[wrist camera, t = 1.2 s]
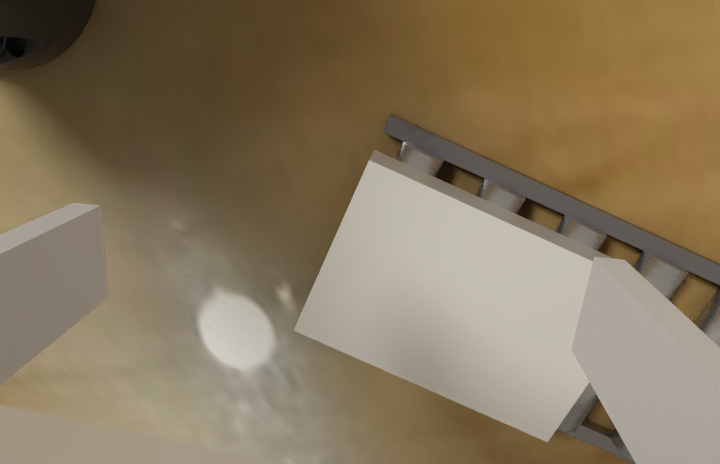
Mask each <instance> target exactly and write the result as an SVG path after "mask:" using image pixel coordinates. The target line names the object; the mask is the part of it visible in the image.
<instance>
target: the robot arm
mask: <svg viewBox="0 0 720 464" xmlns="http://www.w3.org/2000/svg"><path fill="white" fill-rule="evenodd" d="M94 2H95V0H0V69H21V68H29V67H33V66H37V65H40V64H43V63H46V62H48V61H50V60H52V59H53V58H55V57H57V56H58V55H60V54H61V53H62V52H64V51H65V50H66V49H67V48H68V47H69V46H70V45H71V44H72V43H73V42H74V41H75V40H76V38H77V37H78V36H79V35H80V33H81V32H82V30H83V28H84V27H85V25H86V23H87V21H88V19H89V16H90V14H91V11H92V8H93V5H94ZM108 297H109V296H108V285H107V274H106V262H105V251H104V240H103V229H102V218H101V206H100V205H90V204H80V203H71V204H69V205H67V206H65V207H62V208H60V209H58V210H55V211H53V212H51V213H49V214H46V215H44V216H42V217H39V218H37V219H35V220H32V221H30V222H28V223H26V224H23V225H21V226H19V227H16V228H14V229H12V230H9V231H7V232H5V233H3V234H0V384H2V383H3V382H4V381H5V380H7V379H8V378H9V377H10V376H12V375H13V374H14V373H15V372H17V371H18V370H19V369H20V368H22V367H23V366H24V365H25V364H26V363H28V362H29V361H30V360H31V359H33V358H34V357H35V356H36V355H38V354H39V353H40V352H41V351H43V350H44V349H45V348H46V347H48V346H49V345H50V344H51V343H53V342H54V341H55V340H56V339H58V338H59V337H60V336H61V335H62V334H64V333H65V332H66V331H67V330H69V329H70V328H71V327H72V326H74V325H75V324H76V323H77V322H79V321H80V320H81V319H82V318H84V317H85V316H86V315H87V314H89V313H90V312H91V311H92V310H94V309H95V308H96V307H97V306H98V305H100V304H101V303H102V302H103V301H105V300H106V299H107V298H108ZM571 350H572V352H573V354H574V355H575V357H576V359H577V361H578V362H579V364H580V366H581V368H582V369H583V371H584V373H585V375H586V377H587V378H588V380H589V382H590V384H591V385H592V387H593V389H594V391H595V392H596V394H597V396H598V398H599V399H600V401H601V403H602V405H603V407H604V408H605V410H606V412H607V414H608V415H609V417H610V419H611V421H612V422H613V424H614V426H615V428H616V429H617V431H618V433H619V435H620V437H621V438H622V440H623V442H624V444H625V445H626V447H627V449H628V451H629V452H630V454H631V456H632V458H633V459H634V461H635V463H636V464H720V347H719V346H718V345H717V344H715V343H714V342H713V341H712V340H711V339H710V338H709V337H708V336H707V335H706V334H705V333H704V332H702V331H701V330H700V329H699V328H698V327H697V326H696V325H695V324H694V323H693V322H692V321H691V320H689V319H688V318H687V317H686V316H685V315H684V314H683V313H682V312H681V311H680V310H679V309H678V308H676V307H675V306H674V305H673V304H672V303H671V302H670V301H669V300H668V299H667V298H666V297H665V296H663V295H662V294H661V293H660V292H659V291H658V290H657V289H656V288H655V287H654V286H653V285H652V284H650V283H649V282H648V281H647V280H646V279H645V278H644V277H643V276H642V275H641V274H640V273H639V272H637V271H636V270H635V269H634V268H633V267H632V266H631V265H630V264H629V263H628V262H627V261H626V260H622V259H612V258H602V257H594V260H593V264H592V268H591V272H590V276H589V280H588V284H587V288H586V292H585V296H584V300H583V305H582V309H581V313H580V317H579V321H578V325H577V329H576V333H575V337H574V341H573V345H572V349H571Z"/></svg>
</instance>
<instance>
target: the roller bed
mask: <svg viewBox="0 0 720 464" xmlns="http://www.w3.org/2000/svg"><path fill="white" fill-rule="evenodd" d="M383 132H384V133H386V134H388V135H391V136H393V137H395V138H397V139H399V140H401V141H403V143H402V145H401V147H400V149H399V152H398V154H397V156H396V158H395V159H396V160H398V161H400V162H403V163H405V164H407V165H409V166H411V167H414V168H416V169H418V170H420V171H422V172H425V173H427V174H429V175H431V176H433V177H436V176H437V174H438V172H439V170H440V168H441V166H442V164H443V162H444V160H445V161H448V162H450V163H452V164H454V165H456V166H459V167H461V168H463V169H465V170H467V171H470V172H472V173H474V174H476V175H478V176H481V177H483V178H485V179H484V181H483V183H482V184H481V186H480V188H479V190H478V192H477V194H476V196H477V197H480V198H482V199H484V200H486V201H488V202H491V203H493V204H495V205H497V206H499V207H502V208H504V209H506V210H508V211H510V212H513V213H515V214H518V212H519V210H520V208H521V206H522V205H523V203H524V201H525V199H526V198H525V197H527V198H529V199H531V200H533V201H535V202H538V203H540V204H542V205H544V206H546V207H549V208H551V209H553V210H555V211H557V212H560V213H562V214H564V217H563V219H562V220H561V222H560V224H559V225H558V227H557V229H556V230H555V232H557V233H559V234H561V235H563V236H566V237H568V238H570V239H572V240H574V241H577V242H579V243H581V244H583V245H585V246H588V247H590V248H592V249H594V250H596V251H598V250H599V249H600V247H601V246H602V244H603V242H604V241H605V239H606V238H607V235H606V234H608V235H610V236H612V237H615V238H617V239H619V240H621V241H623V242H625V243H628V244H630V245H632V246H634V247H636V248H639V249H641V250H643V252H642V254H641V255H640V257H639V258H638V260H637V261H636V263H635V264H634V266H633V268H634V269H635V270H636V271H637V272H639V273H640V274H641V275H642V276H643V277H644V278H645V279H646V280H647V281H648V282H649V283H650V284H652V285H653V286H654V287H655V288H656V289H657V290H658V291H659V292H660V293H661V294H662V295H663V296H665V297H666V298H667V299H668V300H670V299H671V298H672V296H673V295H674V293H675V292H676V291H677V289H678V288H679V286H680V285H681V284H682V282H683V281H684V279H685V278H686V277H687V275H688V274H689V273H688V272H687V271H689V272H691V273H694V274H696V275H698V276H700V277H702V278H705V279H707V280H709V281H711V282H713V283H716V284H718V285H720V264H719V263H717V262H714V261H712V260H710V259H708V258H706V257H704V256H701V255H699V254H697V253H695V252H693V251H690V250H688V249H686V248H684V247H682V246H679V245H677V244H675V243H673V242H671V241H669V240H666V239H664V238H662V237H660V236H658V235H655V234H653V233H651V232H649V231H647V230H644V229H642V228H640V227H638V226H636V225H633V224H631V223H629V222H627V221H625V220H623V219H620V218H618V217H616V216H614V215H612V214H609V213H607V212H605V211H603V210H601V209H598V208H596V207H594V206H592V205H590V204H588V203H585V202H583V201H581V200H579V199H577V198H574V197H572V196H570V195H568V194H566V193H563V192H561V191H559V190H557V189H555V188H552V187H550V186H548V185H546V184H544V183H542V182H539V181H537V180H535V179H533V178H531V177H528V176H526V175H524V174H522V173H520V172H517V171H515V170H513V169H511V168H509V167H507V166H504V165H502V164H500V163H498V162H496V161H493V160H491V159H489V158H487V157H485V156H482V155H480V154H478V153H476V152H474V151H471V150H469V149H467V148H465V147H463V146H461V145H458V144H456V143H454V142H452V141H450V140H447V139H445V138H443V137H441V136H439V135H436V134H434V133H432V132H430V131H428V130H426V129H423V128H421V127H419V126H417V125H415V124H412V123H410V122H408V121H406V120H404V119H401V118H399V117H397V116H395V115H393V114H390V117H389V119H388V121H387V123H386V126H385V128H384V130H383ZM605 233H606V234H605ZM684 269H685V270H684ZM686 270H687V271H686ZM694 324H695V325H696V326H697V327H698V328H699V329H700V330H701V331H702V332H704V333H705V334H706V335H707V336H708V337H709V338H710V339H711V340H712V341H713V342H714V343H715V344H717V345H718V346H719V347H720V288H719V289H718V291H717V292H716V293H715V295H714V296H713V297H712V299H711V300H710V301H709V303H708V304H707V306H706V307H705V308H704V310H703V311H702V312H701V314H700V315H699V316H698V318H697V319H696V320H695V322H694ZM598 400H599V398H598V396H597V394H596V392H595V391H594V389H593V387H592V385H591V384H590V382H589V384H588V385H587V386H586V388H585V389H584V391H583V392H582V394H581V395H580V397H579V398H578V399H577V401H576V402H575V404H574V405H573V407H572V408H571V409H570V411H569V412H568V414H567V415H566V417H565V418H564V419H563V421H562V422H561V424H560V425H559V427H558V428H557V430H559V431H561V432H563V433H566V434H568V435H570V436H573V437H575V438H577V439H579V440H582V441H584V442H586V443H588V444H591V445H593V446H595V447H597V448H600V449H602V450H604V451H607V452H609V453H611V454H613V455H616V456H618V457H620V458H622V459H625V460H627V461H629V462H632V463H634V464H636V463H635V461H634V459H633V458H632V456H631V454H630V452H629V451H628V449H627V447H626V445H625V444H624V442H623V440H622V438H621V437H620V435H619V433H618V431H617V429H616V428H615V429H614V430H613V431H611V430H609V429H607V428H604V427H602V426H600V425H598V424H595V423H593V422H591V421H589V420H586V419H585V418H586V417H587V415H588V414H589V412H590V411H591V410H592V408H593V407H594V405H595V404H596V403H597V401H598Z"/></svg>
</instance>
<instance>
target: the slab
mask: <svg viewBox="0 0 720 464" xmlns="http://www.w3.org/2000/svg"><path fill="white" fill-rule="evenodd" d="M594 257H602V258H612V257H610V256H607V255H605V254H603V253H601V252H599V251H596V250H594V249H592V248H590V247H588V246H585V245H583V244H581V243H579V242H577V241H574V240H572V239H570V238H568V237H566V236H563V235H561V234H559V233H557V232H555V231H552V230H550V229H548V228H546V227H544V226H541V225H539V224H537V223H535V222H533V221H530V220H528V219H526V218H524V217H522V216H519V215H517V214H515V213H513V212H510V211H508V210H506V209H504V208H502V207H499V206H497V205H495V204H493V203H491V202H488V201H486V200H484V199H482V198H480V197H477V196H475V195H473V194H471V193H469V192H466V191H464V190H462V189H460V188H458V187H455V186H453V185H451V184H449V183H447V182H444V181H442V180H440V179H438V178H436V177H433V176H431V175H429V174H427V173H425V172H422V171H420V170H418V169H416V168H414V167H411V166H409V165H407V164H405V163H403V162H400V161H398V160H396V159H394V158H392V157H389V156H387V155H385V154H383V153H381V152H378V151H376V150H374V152H373V153H372V155H371V157H370V159H369V161H368V164H367V166H366V168H365V170H364V173H363V175H362V177H361V179H360V182H359V184H358V186H357V188H356V191H355V193H354V195H353V197H352V200H351V202H350V204H349V206H348V209H347V211H346V213H345V215H344V218H343V220H342V222H341V224H340V227H339V229H338V231H337V233H336V236H335V238H334V240H333V242H332V245H331V247H330V249H329V251H328V254H327V256H326V258H325V260H324V263H323V265H322V267H321V269H320V272H319V274H318V276H317V278H316V281H315V283H314V285H313V287H312V290H311V292H310V294H309V296H308V299H307V301H306V303H305V305H304V308H303V310H302V312H301V314H300V317H299V319H298V321H297V324H296V326H295V328H294V330H293V331H296V332H298V333H300V334H302V335H305V336H307V337H309V338H311V339H314V340H316V341H318V342H321V343H323V344H325V345H327V346H330V347H332V348H334V349H336V350H339V351H341V352H343V353H346V354H348V355H350V356H352V357H355V358H357V359H359V360H361V361H364V362H366V363H368V364H371V365H373V366H375V367H377V368H380V369H382V370H384V371H386V372H389V373H391V374H393V375H396V376H398V377H400V378H402V379H405V380H407V381H409V382H411V383H414V384H416V385H418V386H421V387H423V388H425V389H427V390H430V391H432V392H434V393H436V394H439V395H441V396H443V397H446V398H448V399H450V400H452V401H455V402H457V403H459V404H461V405H464V406H466V407H468V408H471V409H473V410H475V411H477V412H480V413H482V414H484V415H486V416H489V417H491V418H493V419H496V420H498V421H500V422H502V423H505V424H507V425H509V426H511V427H514V428H516V429H518V430H521V431H523V432H525V433H527V434H530V435H532V436H534V437H536V438H539V439H541V440H543V441H546V442H548V441H549V440H550V438H551V437H552V435H553V434H554V432H555V431H556V430H557V428H558V427H559V425H560V424H561V422H562V421H563V419H564V418H565V417H566V415H567V414H568V412H569V411H570V409H571V408H572V407H573V405H574V404H575V402H576V401H577V399H578V398H579V397H580V395H581V394H582V392H583V391H584V389H585V388H586V386H587V385H588V384H589V380H588V378H587V377H586V375H585V373H584V371H583V369H582V368H581V366H580V364H579V362H578V361H577V359H576V357H575V355H574V354H573V352H572V350H571V349H572V345H573V341H574V337H575V333H576V329H577V325H578V321H579V317H580V313H581V309H582V305H583V300H584V296H585V292H586V288H587V284H588V280H589V276H590V272H591V268H592V264H593V260H594ZM612 259H614V258H612Z"/></svg>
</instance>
